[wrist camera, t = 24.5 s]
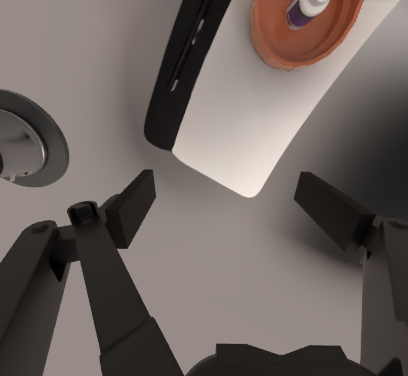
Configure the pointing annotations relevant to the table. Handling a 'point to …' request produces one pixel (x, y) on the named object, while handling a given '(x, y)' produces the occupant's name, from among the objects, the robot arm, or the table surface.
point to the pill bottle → (303, 12)
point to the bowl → (299, 32)
